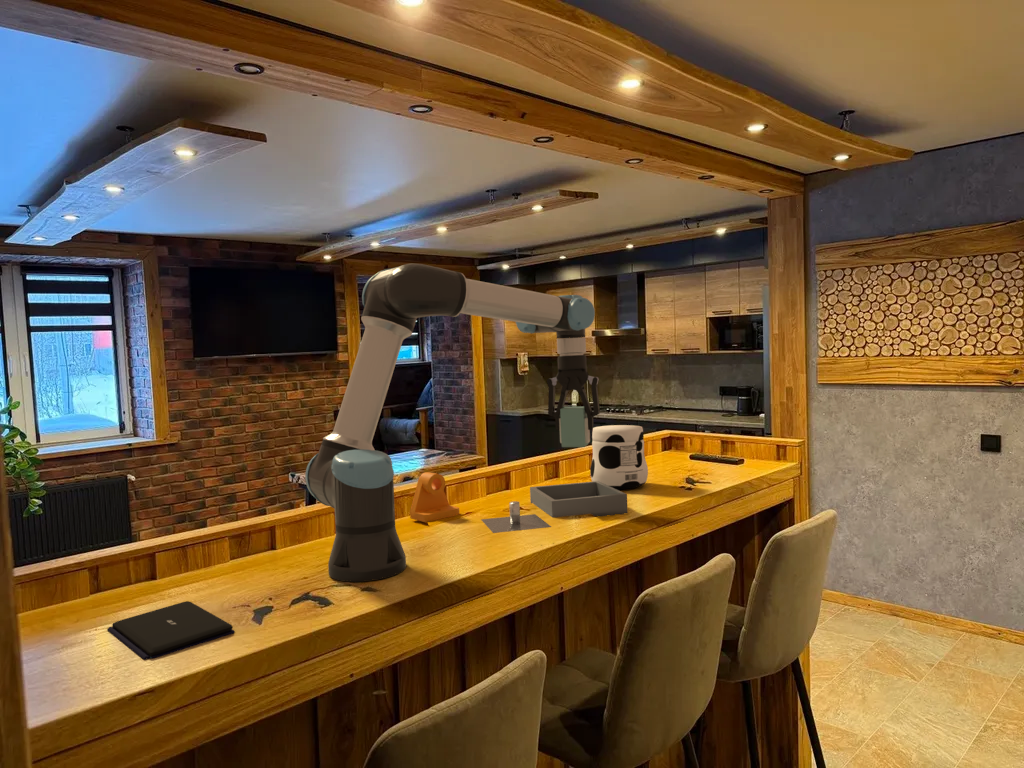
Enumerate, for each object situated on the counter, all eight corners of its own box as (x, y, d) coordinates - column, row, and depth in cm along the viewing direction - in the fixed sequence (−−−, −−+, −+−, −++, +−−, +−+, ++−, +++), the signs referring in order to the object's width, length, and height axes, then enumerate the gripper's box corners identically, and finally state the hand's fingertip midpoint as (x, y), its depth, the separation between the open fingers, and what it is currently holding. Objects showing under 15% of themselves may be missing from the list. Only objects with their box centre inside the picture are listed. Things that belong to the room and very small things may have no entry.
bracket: (426, 526, 177) (424, 478, 176) (410, 521, 183) (408, 474, 182) (461, 518, 184) (459, 472, 183) (445, 514, 189) (443, 469, 189)
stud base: (493, 537, 163) (492, 511, 163) (481, 523, 177) (480, 499, 177) (551, 531, 167) (550, 505, 166) (535, 518, 180) (534, 494, 180)
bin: (552, 521, 176) (551, 501, 176) (530, 505, 196) (530, 487, 195) (627, 513, 181) (627, 494, 181) (599, 498, 200) (598, 481, 200)
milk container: (607, 479, 229) (605, 424, 228) (657, 483, 219) (655, 425, 218) (580, 489, 215) (578, 430, 214) (632, 494, 205) (630, 432, 204)
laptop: (123, 670, 101) (122, 656, 101) (105, 629, 117) (104, 617, 117) (238, 640, 110) (238, 627, 110) (207, 605, 126) (206, 594, 126)
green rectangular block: (584, 447, 184) (583, 408, 183) (561, 447, 186) (560, 408, 185) (588, 443, 190) (587, 406, 189) (566, 443, 191) (564, 406, 191)
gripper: (610, 353, 187) (613, 440, 189) (539, 355, 193) (543, 440, 194) (605, 353, 180) (609, 444, 181) (533, 356, 185) (536, 444, 187)
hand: (575, 442), depth 188 cm, fingers closed on green rectangular block, 6 cm apart
